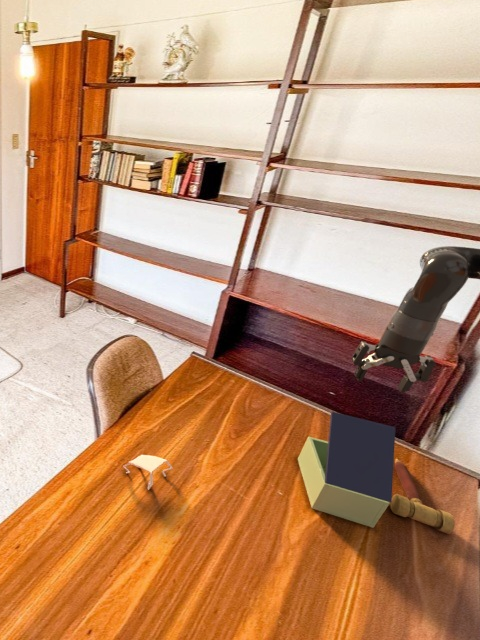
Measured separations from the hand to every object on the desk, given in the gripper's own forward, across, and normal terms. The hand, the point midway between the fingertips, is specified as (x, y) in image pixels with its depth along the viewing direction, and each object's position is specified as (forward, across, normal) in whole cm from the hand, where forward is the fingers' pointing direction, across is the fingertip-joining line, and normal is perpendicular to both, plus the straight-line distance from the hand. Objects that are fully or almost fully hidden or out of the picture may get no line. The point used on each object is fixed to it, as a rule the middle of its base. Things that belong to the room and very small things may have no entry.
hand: (379, 384), depth 99 cm
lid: (+11, +3, +15) cm, 19 cm away
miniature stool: (+27, +47, +30) cm, 62 cm away
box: (+27, +4, +13) cm, 30 cm away
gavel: (+27, -14, +4) cm, 31 cm away
